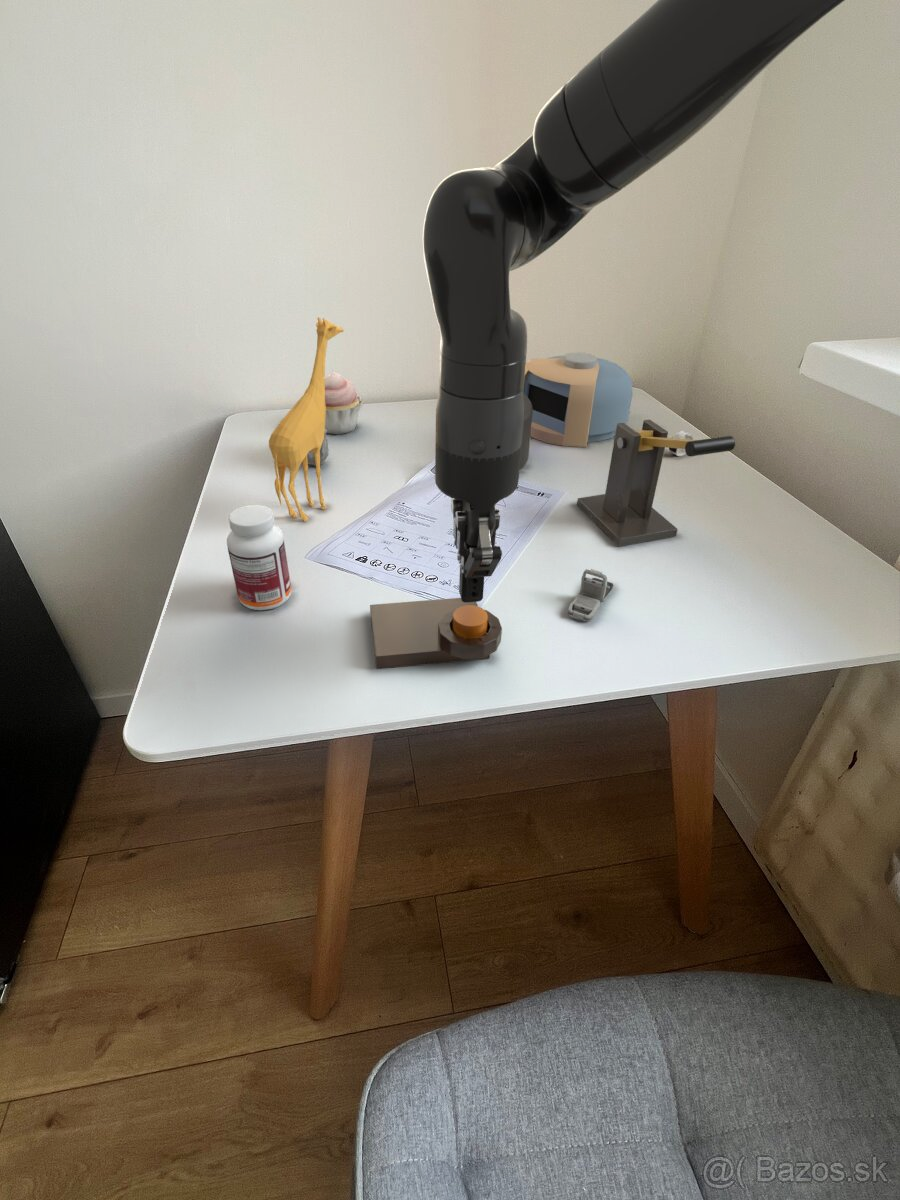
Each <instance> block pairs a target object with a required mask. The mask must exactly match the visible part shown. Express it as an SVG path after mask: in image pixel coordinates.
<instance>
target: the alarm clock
mask: <svg viewBox="0 0 900 1200" xmlns="http://www.w3.org/2000/svg"><path fill="white" fill-rule="evenodd" d="M523 388H524V391H523V393H524V394H525V395H526V396H527V397H528V398H529V400H530V401H531V404H532V408H533V412H532V423H531V434H530V438H533V439H535V440H538V441H542V442H544V443H547V444H551V445H558V446H562V447H563V446H564V447H579V448H587V446H588V443H596V442H602V441H605V440H608V439H612V438H613V437H615V433H616V427H617V423H625V424H626V425H627V423H628V421H629V416H630V411H631V405H632V402H633V401H632V400H633V381H632V378H631V376H630V374H629V373H628V371H627V370H626V369H624V368H623V367H622V366H620V365H619V364H617V363H616V362H613V361H610V360H608V359H604V358H600V357H596V356H595V355H594V354H592V353H587V352H582V351H581V352H580V351H574V352H568V353H565V354H564V355H556V356H551V357H547V358H531V359H530V360H529V361H526V366H525V378H524V387H523Z"/></svg>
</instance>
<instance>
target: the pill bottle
mask: <svg viewBox="0 0 900 1200" xmlns="http://www.w3.org/2000/svg"><path fill="white" fill-rule="evenodd" d="M228 522H229V528H230V532H229V533H228V535H227V537H226V546H227V552H228V556H229V561H230V566H231V571H232V575H233V579H234V585H235V589H236V594H237V598H238V601H239V602H240V604H241V605H242V606H244V607H246V608H247V609H250V610H255V611H268V610H273V609H276V608H278V607H280V606H282V605H283V604H285V603H286V602H287V601H288V600H289V598H290V597H291V595H292V583H291V577H290V571H289V565H288V557H287V551H286V546H285V539H284V534H283V533H284V532H283V531H282V530H281V529H280V527H279V526H278V525H276V524H275V518H274V513H273V511H272V509H271V508H269V507H267V506H265V505H261V504H249V505H244V506H240V507H238V508H235V509H234V510H232V511H231V512H230V514H229V515H228Z"/></svg>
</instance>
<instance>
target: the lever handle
mask: <svg viewBox="0 0 900 1200" xmlns="http://www.w3.org/2000/svg"><path fill="white" fill-rule="evenodd" d="M635 431H636V432H637V433H639V434H640V435H641V439H640V444H639V450H638V451H645V450H653V446H655V447H665V448H667V449H669V448H678V449H679V450H682V449H685V452H686V454H685V455H686V456H688V457H698V456H705V455H712V454H718V453H725V452H731V451H733V450H734V449H735V446H736V440H735V438H734V436H732V435H727V436H718V437H711V438H703V439H692V440H690V439H685V438H681V439H675V438H672V437H667V438H661V437H653V431H650V430H642V429H638V430H635Z"/></svg>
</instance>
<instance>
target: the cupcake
mask: <svg viewBox="0 0 900 1200" xmlns="http://www.w3.org/2000/svg"><path fill="white" fill-rule="evenodd" d="M361 399H362V397H361V396H358V393H357V391H356V387H355V384H354V383H352V381H350V380H349V379H348V378H345V377H343V376H342V375H341V374H339V373H338V372H336V371H334V370H331V372H330V373H329V374H328V375H327V376H325V405H326V416H325V428H326V429H327V432H326V434H331V435H341V434H347V433H351V432H352V431H354V430H355V429H356V427H357V425H358V424H357V422H358V418H359V413H360V410H361V408H362V407H363V405H364V402H365V401H364V400H361Z"/></svg>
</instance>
